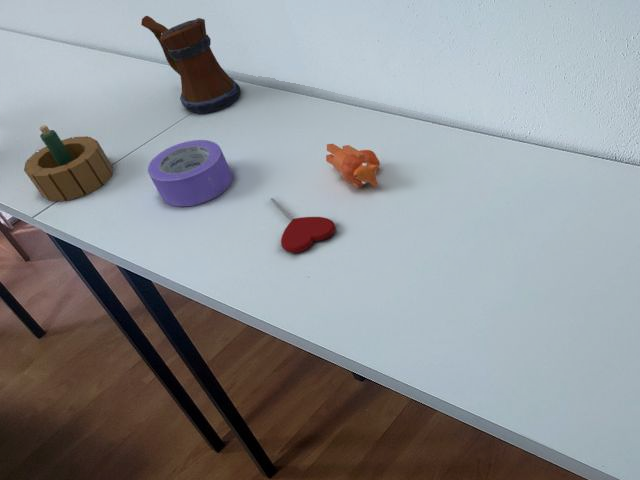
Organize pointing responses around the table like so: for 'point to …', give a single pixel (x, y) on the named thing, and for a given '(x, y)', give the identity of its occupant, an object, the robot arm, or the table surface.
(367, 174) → the orange toy bird
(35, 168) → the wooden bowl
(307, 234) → the lollipop
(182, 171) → the tape roll
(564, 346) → the table surface
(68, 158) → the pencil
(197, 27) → the mug
